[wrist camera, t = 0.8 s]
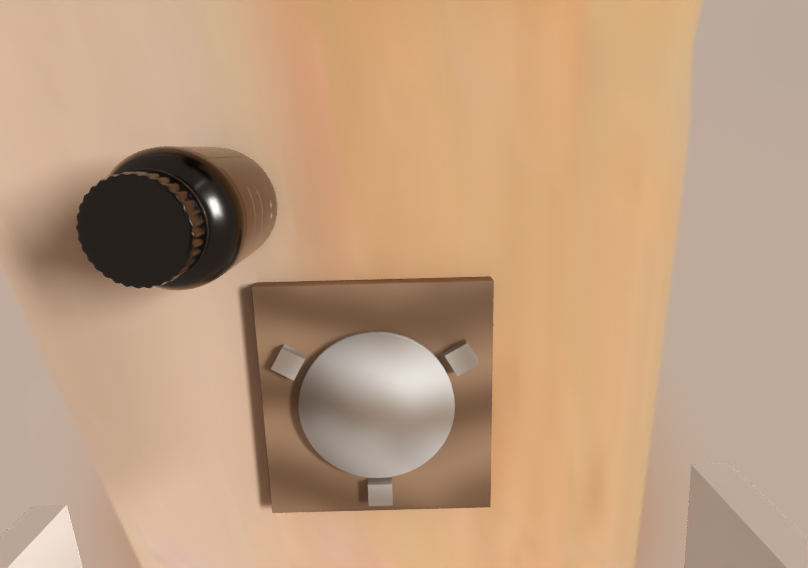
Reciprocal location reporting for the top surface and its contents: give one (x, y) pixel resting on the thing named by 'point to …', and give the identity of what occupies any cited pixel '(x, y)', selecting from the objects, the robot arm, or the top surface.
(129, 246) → the supplement bottle
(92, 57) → the top surface
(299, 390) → the board
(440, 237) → the top surface
